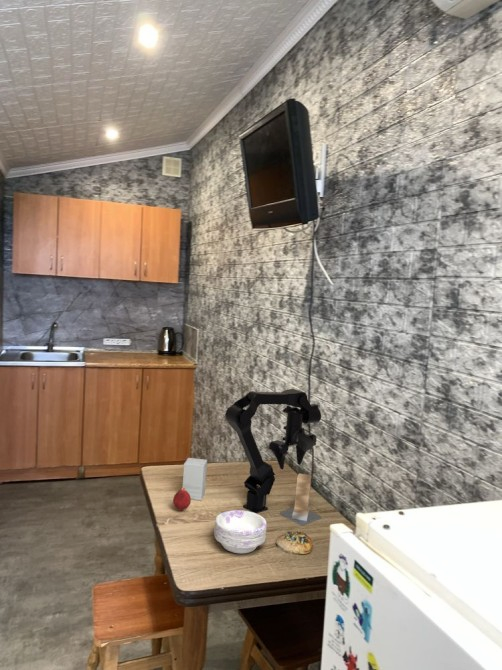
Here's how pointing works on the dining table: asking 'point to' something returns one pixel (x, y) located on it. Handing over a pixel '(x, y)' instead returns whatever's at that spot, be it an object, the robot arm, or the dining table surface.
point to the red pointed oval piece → (182, 499)
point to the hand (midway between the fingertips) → (290, 466)
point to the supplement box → (195, 477)
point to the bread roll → (295, 542)
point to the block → (302, 497)
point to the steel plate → (288, 514)
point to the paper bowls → (240, 530)
